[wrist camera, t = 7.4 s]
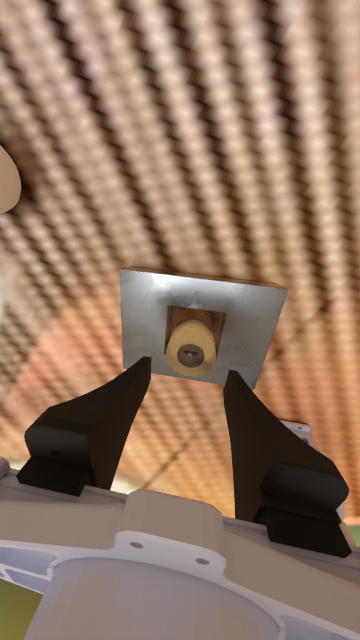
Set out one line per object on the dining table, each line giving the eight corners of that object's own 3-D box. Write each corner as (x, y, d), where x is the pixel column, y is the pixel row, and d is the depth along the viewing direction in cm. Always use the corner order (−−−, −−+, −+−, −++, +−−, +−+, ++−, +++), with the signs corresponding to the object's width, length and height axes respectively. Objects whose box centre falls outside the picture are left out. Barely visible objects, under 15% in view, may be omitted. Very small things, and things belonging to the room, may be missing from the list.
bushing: (215, 309, 21) (220, 337, 14) (209, 342, 22) (211, 380, 16) (178, 304, 21) (167, 329, 14) (175, 336, 23) (163, 372, 16)
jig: (276, 283, 19) (288, 289, 16) (248, 373, 23) (254, 390, 21) (131, 266, 20) (119, 269, 17) (132, 354, 25) (123, 368, 22)
